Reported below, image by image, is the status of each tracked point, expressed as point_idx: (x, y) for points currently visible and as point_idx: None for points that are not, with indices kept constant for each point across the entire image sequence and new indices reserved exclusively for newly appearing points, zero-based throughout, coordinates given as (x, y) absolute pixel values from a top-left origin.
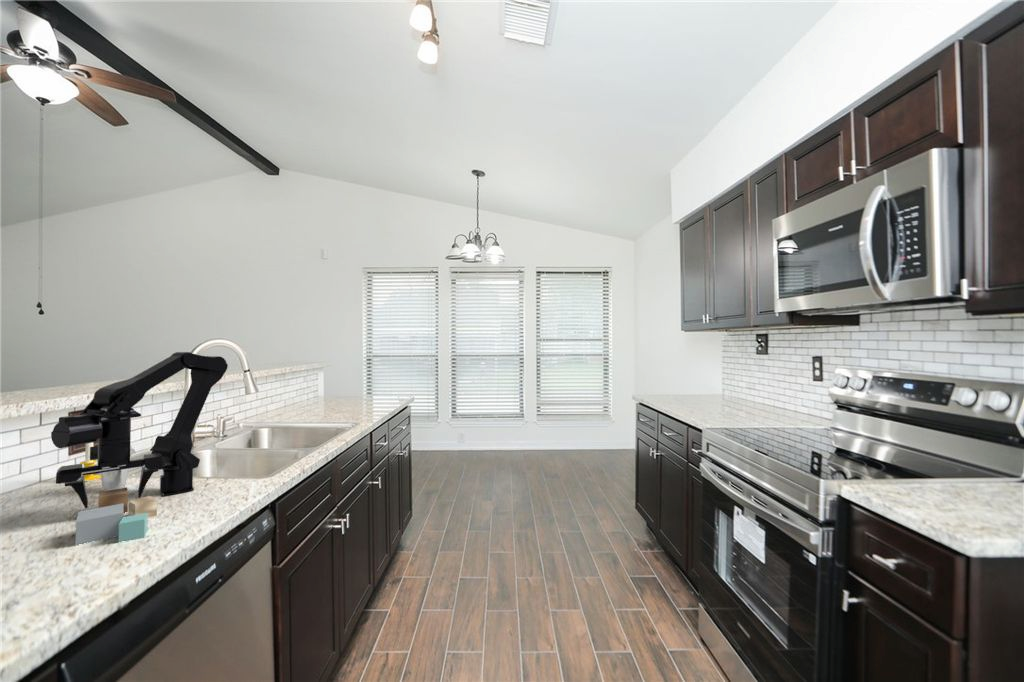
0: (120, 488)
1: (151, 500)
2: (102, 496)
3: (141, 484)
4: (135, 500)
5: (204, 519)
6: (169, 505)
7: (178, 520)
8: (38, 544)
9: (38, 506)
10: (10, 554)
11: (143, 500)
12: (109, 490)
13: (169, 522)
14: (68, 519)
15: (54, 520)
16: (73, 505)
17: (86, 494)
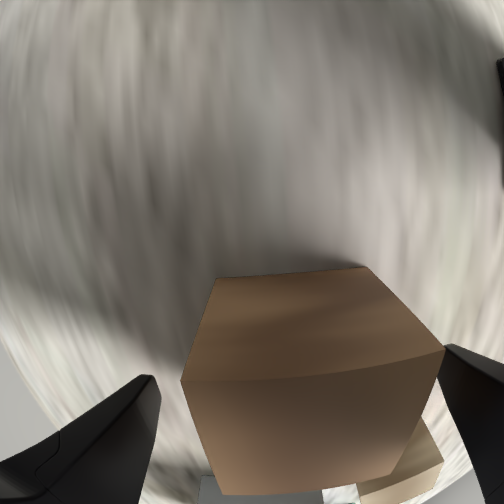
0: (393, 364)
1: (415, 496)
2: (242, 487)
3: (476, 462)
4: (382, 494)
5: (447, 475)
6: None
7: None
8: None
9: (5, 9)
10: None
11: (401, 495)
12: (286, 381)
13: None
14: (94, 304)
15: (45, 271)
16: (80, 26)
17: (118, 462)
